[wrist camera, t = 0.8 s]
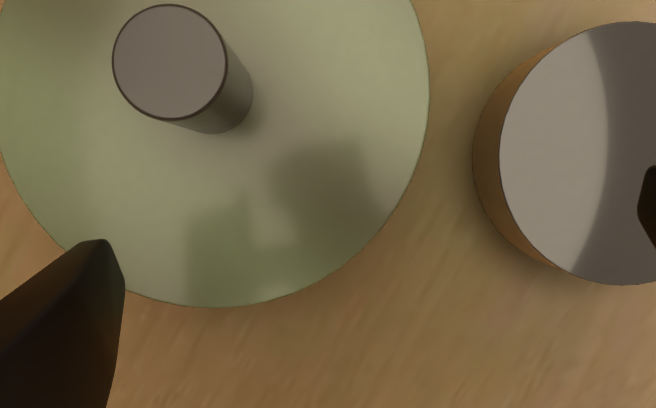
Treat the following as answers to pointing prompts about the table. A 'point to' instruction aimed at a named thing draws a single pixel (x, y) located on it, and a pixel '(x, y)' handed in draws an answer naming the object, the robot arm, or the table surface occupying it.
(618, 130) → the disc
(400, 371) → the table surface
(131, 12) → the lid
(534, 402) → the table surface
